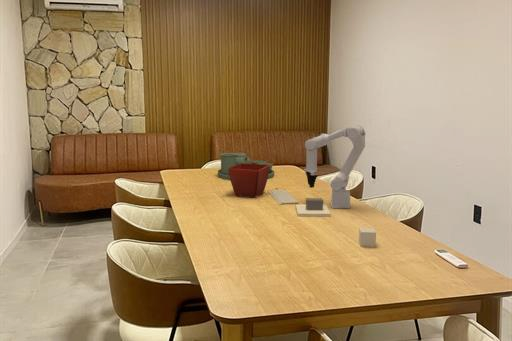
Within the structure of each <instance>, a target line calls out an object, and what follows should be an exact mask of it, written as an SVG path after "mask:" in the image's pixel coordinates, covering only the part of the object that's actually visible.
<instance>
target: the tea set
mask: <svg viewBox="0 0 512 341" xmlns="http://www.w3.org/2000/svg"><path fill="white" fill-rule="evenodd" d="M219 155H220V169H218V170H217V176H218V178H220V179H223V180H226V179H227V180H229V181H231V180H230V176H229V171H228V168H230V167H232V166H235V165H237V164H240V163H246V164H262V165H270V168H269V174H268V179H267V180H269V179H273V177H274V176H275V171H274V170H273V169H272V168H273V165H274V164H273V163H271V162H268V161H266V160H253V161H252V159H251V158H250V157H249V156H247V154H246V153H245V152H241V151H238V152H221V153H220V154H219Z"/></svg>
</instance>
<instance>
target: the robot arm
mask: <svg viewBox="0 0 512 341" xmlns="http://www.w3.org/2000/svg"><path fill="white" fill-rule="evenodd" d="M366 135H367V134H366V131H365V129H364V127H363V126H362V125H355V126H350V127H345V128H341V129H339V130H337V131H335V132H333V133H330V134H327V133H324V132H323V133H320V135H318V136H313V137H312V138H309V139H307V140H306V141H305V142H304V147H305V149H306V150H305V152H306V155H305V156H306V158H305V162H306V163H305V164H306V165H305V168H304V169H303V171H304V172H305V175H306V179H307V183H308V186H309V188H313V189H314V187H315V184H316V180H317V178H318V174H316V172H317V171H318V168H317V167H318V149H319V148H322V147H324V146H327V145H329V144H330V143H331V142H332V141H334V140H336V139H338V138H342V137H345V138H348V139H349V141H350V142H351V143H352V145H353V146H352V149H351V151H350V153H349V154H348V156H347V158H346V160H345V162H344V164H343V165H342V168H341V170H340V171H339V173H337V175H336V176H335V177H334V179H332V180H331V182H330V188H331V203H329V205H330V207H331V209H350V208H351V191H350V190H349V189H347V188H346V187H347V186H348V184H349V183H348V182H349V178H350V175H351V173H352V171H353V169H354V167H355V166H356V163H357V162H358V160H359V158H360V156H361V155H362V153H363V151H364V149H365V148H366Z"/></svg>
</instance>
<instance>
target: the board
mask: <svg viewBox="0 0 512 341" xmlns="http://www.w3.org/2000/svg"><path fill="white" fill-rule="evenodd" d="M294 205H295V211H296V214H297V217H302V218H303V217H306V218H307V217H308V218H309V217H312V218H313V217H316V218H318V217H321V218H322V217H326V218H327V217H328V218H329V217H331V215H332V214H331V211H330V210H329V208H328V206H327V204H323V210H307V209H306V204H294Z"/></svg>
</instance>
